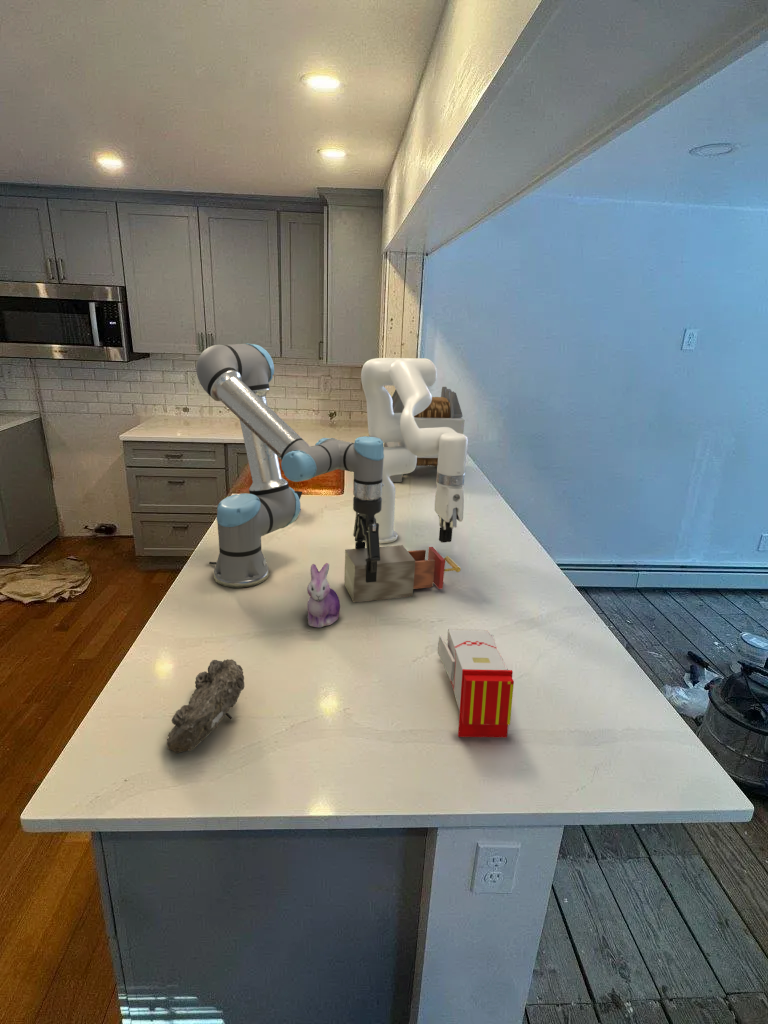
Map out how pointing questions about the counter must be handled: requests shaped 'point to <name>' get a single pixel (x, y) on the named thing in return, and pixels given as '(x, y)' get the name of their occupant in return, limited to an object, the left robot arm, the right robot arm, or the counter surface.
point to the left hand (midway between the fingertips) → (365, 572)
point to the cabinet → (380, 574)
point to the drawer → (430, 568)
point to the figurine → (321, 599)
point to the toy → (478, 682)
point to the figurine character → (299, 494)
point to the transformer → (432, 421)
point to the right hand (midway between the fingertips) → (444, 541)
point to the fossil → (206, 705)
